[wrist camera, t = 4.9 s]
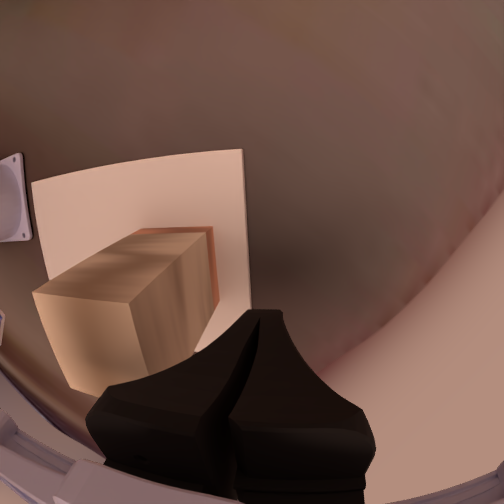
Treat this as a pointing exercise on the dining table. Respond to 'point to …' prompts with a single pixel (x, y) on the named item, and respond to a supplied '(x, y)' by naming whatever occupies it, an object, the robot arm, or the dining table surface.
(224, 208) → the beige mat
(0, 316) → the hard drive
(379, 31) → the dining table surface
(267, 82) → the dining table surface
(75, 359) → the birch block
